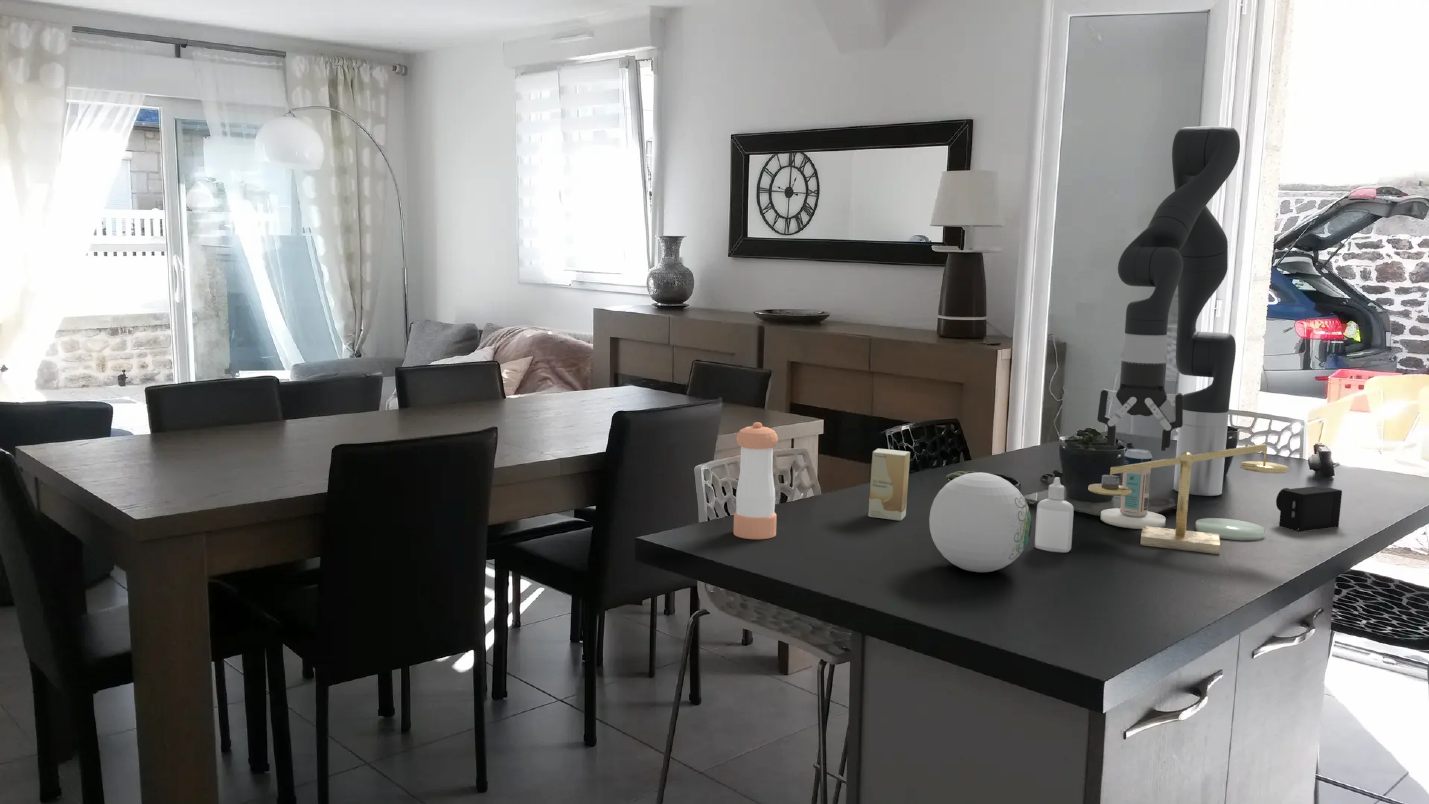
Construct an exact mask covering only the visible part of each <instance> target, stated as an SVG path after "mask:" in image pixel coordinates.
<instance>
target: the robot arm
mask: <svg viewBox="0 0 1429 804" xmlns="http://www.w3.org/2000/svg"><path fill="white" fill-rule="evenodd" d="M1171 147H1172V148H1171V149H1172V150H1171V161H1172V166H1171V167H1172V174H1173V184H1174V191H1173V192H1172V193H1170V194H1169V195H1168V196H1167V197H1165V199H1163V201H1161V203H1160V204H1159V205H1158V207H1157V208H1156V210H1155V211H1154V214H1153V215H1152V216H1153V217H1151V219H1150V221H1149V224H1148V226H1147V227H1146V228H1145V229H1144V230H1143V231H1141V232H1140V234H1139V235H1138V236H1137V237H1135V239H1134V240H1132V241H1131V242H1130V243H1129V244H1128V246H1126V248H1125V249H1124V250H1123V252H1122V254H1121V255H1120V258H1119V261H1118V264H1117V274H1118V277H1119V279H1120V280H1121V282H1122V283H1123V284H1125V285H1127V286H1131V287H1143V288H1144V287H1146V288H1147V287H1148V288H1149V287H1150V288H1154V291H1153V292H1152V294H1151V295H1150V297H1148V298H1145V299H1138V300H1134V301H1130V302H1129V303H1128V304H1127V307H1126V310H1125V311H1126V312H1125V325H1124V335H1123V336H1124V337H1123V341H1122V348H1121V355H1120V357H1121V363H1120V374H1119V375H1120V376H1119V377H1120V379H1119V387H1118V389H1117V390H1111V389H1108V388H1103V389H1102V390H1101V391H1100V395H1099V396H1100V397H1099V404H1098V411H1097V419H1096V420H1097V422H1099V423H1103V424H1105V425H1106V427H1107V432H1106V433H1107V435H1106V442H1107V444H1110V448H1115V447H1116V440H1117V425H1116V424H1118V422H1119V420H1121V419H1122V418H1123V416H1125V414H1126V413H1127V414H1129V415H1130V416H1139V415H1140V416H1143V417H1150V416H1154V417H1155V418H1156V420H1157V422H1159V423H1160V425H1161V426H1162V427H1163V429H1162V432H1161V433H1162V434H1161V435H1162V436H1161V448H1160V450H1161V451H1162V452H1166V449H1169V448H1170V446H1171V437H1172V431H1173V430H1175V429H1177V440H1176V450H1175V451H1176V453H1175V457H1179V456H1180V454H1182V453H1184V452H1189V453H1191V454H1192V455H1195V454H1201V453H1208V452H1214V451H1221V450H1227V447H1226V446H1227V438H1228V437H1227V436H1228V424H1229V422H1228V421H1229V414H1230V413H1229V411H1230V401H1231V392H1232V391H1231V390H1232V381H1233V374H1234V369H1235V368H1234V367H1235V361H1236V353H1237V351H1236V349H1237V345H1236V339H1235V337H1234V336H1233V335H1232V334H1231V333H1228V332H1227V333H1226V332H1214V331H1213V332H1212V331H1197V328H1196V327H1197V321H1198V318H1199V316H1200V314H1201V312H1202V310H1203V309H1204V307H1205V305H1206V304H1207V303H1208V301H1209V300H1210V298H1212V296H1213V295H1214V294H1215V292H1216V291H1217V290H1218V288H1219V287H1220V286H1221V284H1222V283H1223V281H1224V280H1225V278H1226V276H1227V273H1228V265H1229V264H1228V261H1229V259H1228V258H1229V257H1228V256H1229V255H1228V254H1229V252H1228V251H1229V250H1228V248H1229V247H1228V246H1229V245H1228V243H1229V242H1228V238H1227V236H1226V232H1225V231H1224V229H1223V227H1222V226H1221V224H1220V223H1219V221H1218V220H1217V218H1216V217H1215V215H1213V213H1212V212H1211V210H1210V209H1209V207H1208V206H1207V205H1208V204H1209V202H1210V201H1211V200H1212V199H1213V197H1214V196H1215V195H1216V194H1217V192H1218V191H1219V189H1221V187H1222V186H1223V184H1224V183H1225V182H1226V180H1227V179H1228V178H1229V177H1230V176H1231V174H1232V172H1233V170H1234V169H1235V166H1237V163H1238V159H1239V156H1240V151H1241V140H1240V136H1239V132H1238V131H1237V129H1235V127H1233V126H1226V125H1207V126H1206V125H1205V126H1203V125H1202V126H1185V127H1182V128H1180V129H1178V131H1177V132H1176V133H1175V134H1174V139H1173V141H1172V146H1171ZM1176 289H1177V323H1176V325H1177V326H1176V339H1175V340H1176V341H1175V345H1176V346H1175V362H1176V363H1175V364H1176V369H1177V371H1178V373H1180V374H1181V375H1184V376H1189V377H1190V376H1191V377H1203V378H1212V382H1211V384H1210V385H1209V386H1206V387H1204V388H1201V389H1200V390H1197V391H1196V390H1195V391H1191V392H1187V393H1184V394H1183V393H1181V392H1178V393H1167V392H1166V390H1165V388H1166V377H1167V361H1168V324H1169V314H1170V308H1171V305H1172V302H1173V299H1174V295H1175V293H1176ZM1114 397H1116V399H1117V400H1118V402H1119V403H1120V405H1121V406H1120V407H1119V408H1118V409H1117V410H1116V411H1115V412H1114V413H1113V415H1112V416H1107V407H1108V403H1111V402H1112V400H1113V398H1114ZM1166 401H1169V402H1170V405H1171V406H1172V407H1174V408H1175V410H1174V412H1175V413H1174V414H1175V415H1174V420H1172V421H1170V420H1169V419H1168V418H1167V416H1166V414H1165V413H1164V411H1163V410H1162V405H1164V403H1165V402H1166ZM1225 458H1226V457H1222V458H1216V459H1209V460H1203V461H1196V462H1193V464H1192V465H1191V473H1190V485H1189V495H1195V496H1209V497H1210V496H1211V497H1213V496H1220V495H1222V494H1223V484H1224V483H1223V482H1224V473H1225V472H1224V470H1225V461H1226V460H1225ZM1174 466H1175V467H1174V478H1173V490H1174V491H1176V492H1179V479H1180V467H1181V464H1176V465H1174Z"/></svg>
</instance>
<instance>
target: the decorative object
mask: <svg viewBox="0 0 1429 804" xmlns="http://www.w3.org/2000/svg"><path fill="white" fill-rule="evenodd" d="M928 522H929V532H930V536H931V539H932V540H933V543H934V545H935V546H936V548H937V550H938V551H939V552H940V554H941V555H942V557H944V558H945V559H946V560H947V561H949V563H951V564H952V565H954V566H956V567H957V568H960V569H962V570H965V571H968V572H975V573H989V572H994V571H997V570H998V571H999V570H1000V569H1004V568H1005V567H1007V566H1008V565H1010V564H1012V563H1013V562H1014V561H1016V560H1017V558H1018V557H1020V556H1021V554H1022V552H1024V550H1025V548H1026V546H1027V545H1028V543H1029V539H1030V537H1031V531H1032V516H1031V512H1030V508H1029V505H1028V503H1027V501H1026V499H1025V497H1024V495H1023V494H1022V493H1021V492H1020V490H1019V489H1018V488H1017V487H1016V486H1015V485H1014V484H1012V483H1011V482H1010V481H1009V480H1007V479H1004V478H1003V477H1001V476H1000V475H999V476H998V475H996V474H993V473H989V472H981V471H980V472H970V473H965V474H962V475H960V476H957V477H955V478H953V479H952V480H950V481H949V482H947V483H946V484H945V485H944V486H943V487H942V488H941V489H940V490H939V491H938V493H937V494H936V496H935V497H934V499H933V502H932V504H931V506H930V512H929V519H928Z"/></svg>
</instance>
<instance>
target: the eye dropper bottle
mask: <svg viewBox="0 0 1429 804" xmlns="http://www.w3.org/2000/svg"><path fill="white" fill-rule="evenodd" d="M1060 479H1061V478H1060V477H1054V479H1053V483H1051V484H1049V485H1048V495H1047V498H1045V499H1042V500H1040V501H1039V502H1038V503H1037V505H1036V516H1035V517H1036V518H1035V532H1034V533H1035V534H1034V535H1035V536H1034V547H1035V548H1036V549H1037V550H1041V551H1045V552H1052V553H1062V554H1063V553H1064V554H1065V553H1066V554H1067V553H1069V552H1070V551H1071V550H1072V542H1073V525H1074V506H1073V504H1072V503H1070V502H1069V501H1067V500H1064V499H1065V486H1064V485H1062V483H1061V480H1060Z"/></svg>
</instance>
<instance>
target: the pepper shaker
mask: <svg viewBox="0 0 1429 804" xmlns="http://www.w3.org/2000/svg"><path fill="white" fill-rule="evenodd" d="M735 440H736V443H737V445H738V446H739V447H740V469H739V476H738V483H737V488H736V492H735V497H736V498H735V499H736V500H735V501H736V502H735V503H736V506H735V508H736V510H735V511H734V512H733V535H734V536H735V537H737V538H741V539H748V540H766V539H768V540H769V539H771V538H774V537H777V516H778V515H777V513H776V512H775V508H776V505H775V504H776V490H775V482H774V481H775V480H774V474H773V462H774V461H773V458H774V457H773V456H774V447H776V446H777V444H778V441H779V437H778V434H777V433H776V431H775V430H774V429H772V428H770V427H766V426H763V423H762V422H760V421H759V422H757V421H755V422H753V424H752V425H751V426H746V427H743V428H741V429H740V430H739V431H738V432H737V435H736V439H735Z"/></svg>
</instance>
